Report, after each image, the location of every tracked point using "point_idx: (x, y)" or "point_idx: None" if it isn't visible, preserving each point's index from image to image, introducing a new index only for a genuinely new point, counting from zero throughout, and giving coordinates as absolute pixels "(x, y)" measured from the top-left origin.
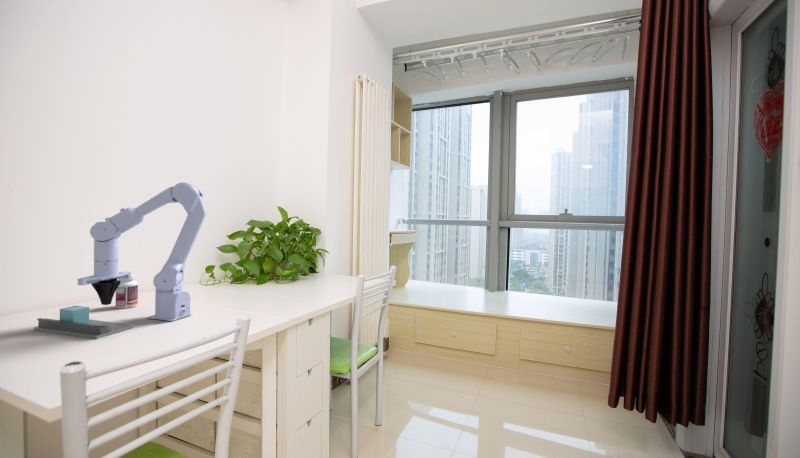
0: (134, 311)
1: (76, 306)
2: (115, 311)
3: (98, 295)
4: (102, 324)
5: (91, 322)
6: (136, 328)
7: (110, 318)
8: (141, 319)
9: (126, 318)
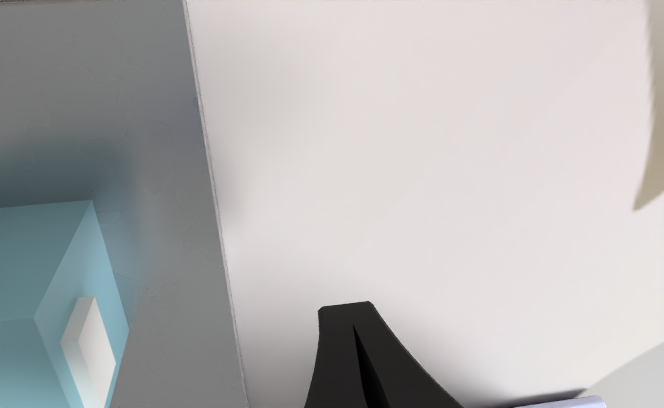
0: (598, 183)
1: (17, 364)
2: (576, 27)
3: (310, 387)
4: (177, 400)
5: (167, 301)
6: None
7: (364, 223)
8: None
9: (403, 314)
